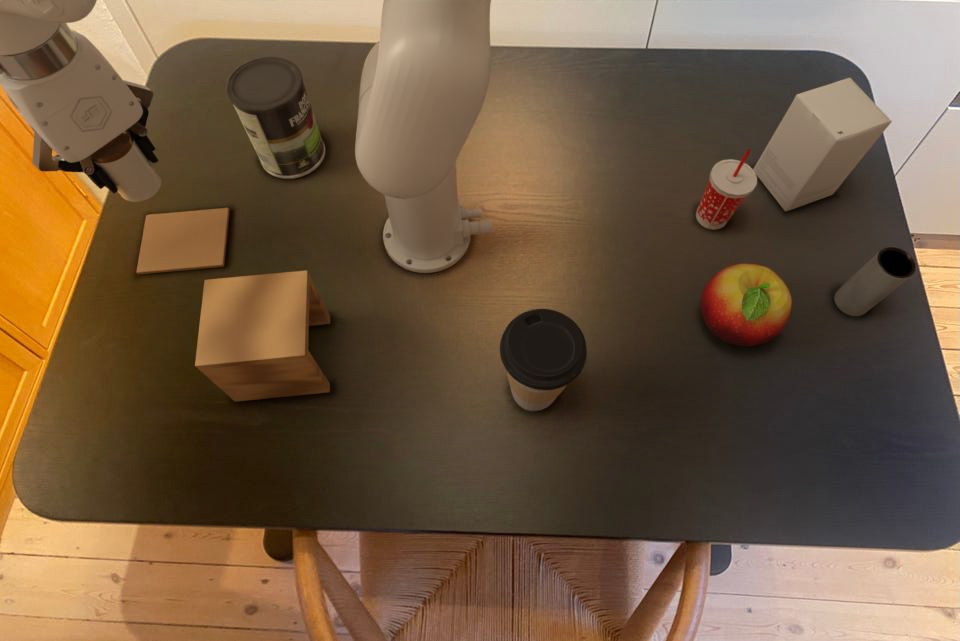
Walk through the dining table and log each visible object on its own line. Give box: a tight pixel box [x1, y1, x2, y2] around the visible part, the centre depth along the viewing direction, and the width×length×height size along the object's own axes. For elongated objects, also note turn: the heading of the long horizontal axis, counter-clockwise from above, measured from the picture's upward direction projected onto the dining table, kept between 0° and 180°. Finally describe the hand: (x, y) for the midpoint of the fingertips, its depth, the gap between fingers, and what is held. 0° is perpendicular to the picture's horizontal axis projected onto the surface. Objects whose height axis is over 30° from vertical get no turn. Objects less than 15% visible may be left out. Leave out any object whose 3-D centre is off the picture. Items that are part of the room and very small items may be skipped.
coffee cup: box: [499, 308, 588, 412], centre depth 70 cm, size 9×9×15 cm
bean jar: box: [90, 129, 162, 203], centre depth 73 cm, size 5×5×8 cm
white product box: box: [752, 77, 893, 212], centre depth 85 cm, size 9×9×15 cm
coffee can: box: [225, 56, 326, 180], centre depth 89 cm, size 10×10×14 cm
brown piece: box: [194, 270, 331, 403], centre depth 74 cm, size 12×11×12 cm
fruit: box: [699, 263, 793, 347], centre depth 77 cm, size 11×11×10 cm
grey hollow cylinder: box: [833, 246, 917, 317], centre depth 78 cm, size 4×4×10 cm
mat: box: [135, 207, 231, 275], centre depth 87 cm, size 12×10×1 cm
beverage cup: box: [695, 148, 758, 231], centre depth 83 cm, size 6×6×14 cm
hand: (128, 170), depth 74 cm, fingers closed on bean jar, 5 cm apart
